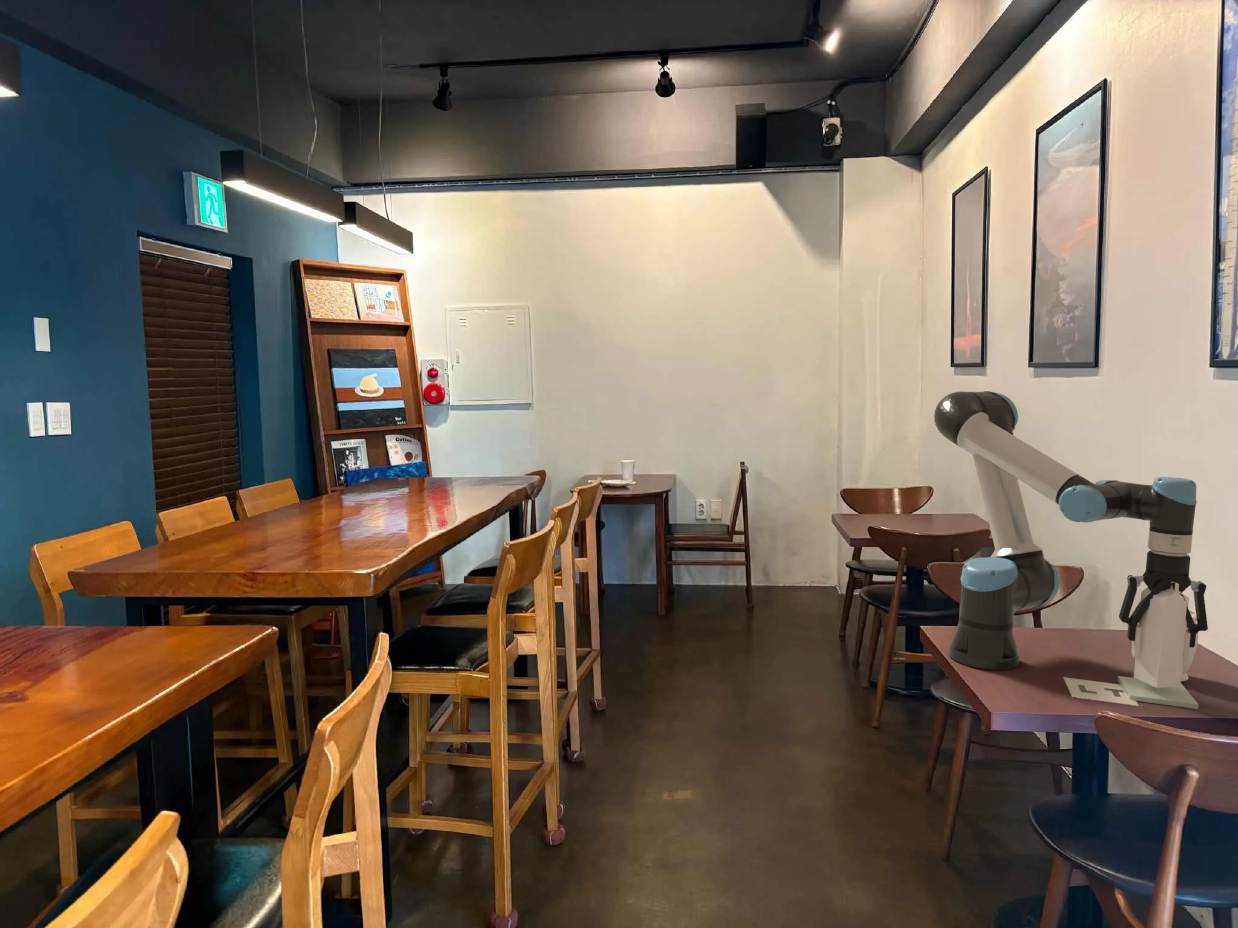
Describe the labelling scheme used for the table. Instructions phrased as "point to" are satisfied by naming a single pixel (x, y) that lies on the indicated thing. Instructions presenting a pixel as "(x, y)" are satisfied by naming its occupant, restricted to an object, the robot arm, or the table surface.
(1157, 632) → the milk
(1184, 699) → the coaster
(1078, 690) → the tile
